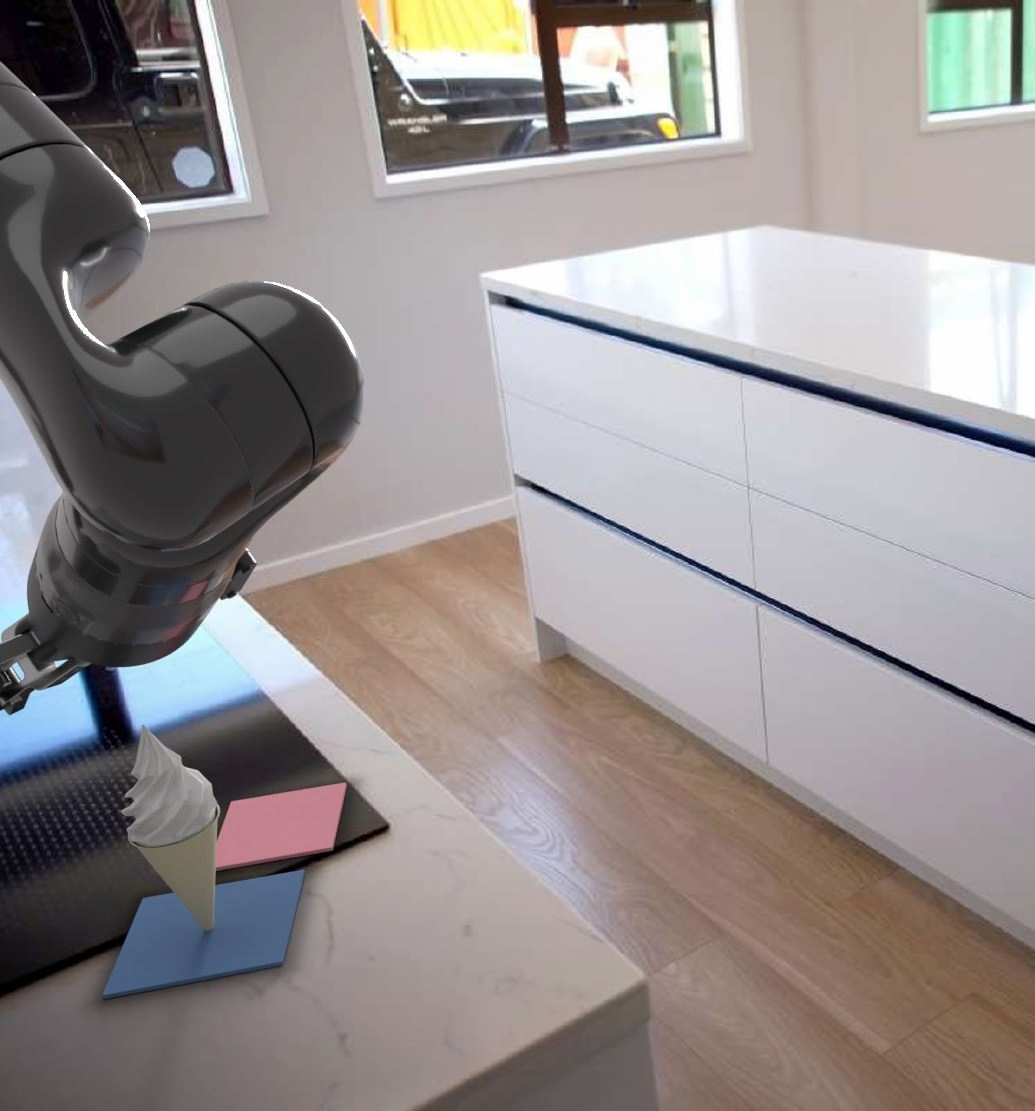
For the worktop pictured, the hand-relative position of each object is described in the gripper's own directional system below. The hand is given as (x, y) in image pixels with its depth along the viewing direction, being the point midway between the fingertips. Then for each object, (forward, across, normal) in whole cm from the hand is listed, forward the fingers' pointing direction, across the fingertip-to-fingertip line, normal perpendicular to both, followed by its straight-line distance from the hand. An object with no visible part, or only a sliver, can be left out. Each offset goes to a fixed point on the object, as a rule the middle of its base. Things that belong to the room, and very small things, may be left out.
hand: (86, 657), depth 69 cm
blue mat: (+13, 0, +17) cm, 21 cm away
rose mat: (+18, -9, +13) cm, 24 cm away
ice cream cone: (+13, 0, +16) cm, 21 cm away
